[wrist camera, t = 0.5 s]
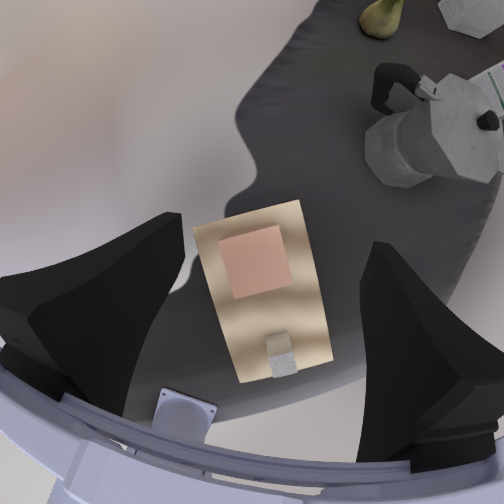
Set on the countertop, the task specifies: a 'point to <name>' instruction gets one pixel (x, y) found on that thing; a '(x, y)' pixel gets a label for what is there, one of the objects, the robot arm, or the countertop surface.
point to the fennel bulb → (381, 18)
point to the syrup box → (492, 86)
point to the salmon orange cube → (255, 260)
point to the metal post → (280, 354)
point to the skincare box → (473, 16)
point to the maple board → (267, 295)
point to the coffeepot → (433, 131)
